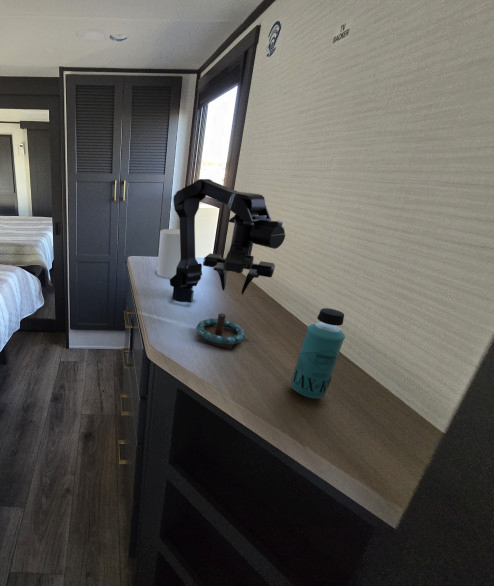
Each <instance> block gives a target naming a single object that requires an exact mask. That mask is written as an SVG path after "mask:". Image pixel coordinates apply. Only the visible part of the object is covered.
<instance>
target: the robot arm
mask: <svg viewBox="0 0 494 586" xmlns="http://www.w3.org/2000/svg"><path fill="white" fill-rule="evenodd" d="M206 197H209V198H211V199H213V200H215V201H216V202H217V201H218V202H220V203H222V204H224V205H226V206H227V207H228V209H229V211H231V212H232V213H233V214H234V215H233V216H232V217H230V218H229V219H228V222H229V223H232V224H233V230H232V236H231V242H230V247H229V250H228V252H227V253H226V256H225V258H222V254H217V253H211V252H210V253H208V254H207V255H205V257H204V258H203V260H202V261H203V262H202V263H199V262H198V260H197V259H196V224H195V223H196V221H195V219H196V215H197V212H198V211H199V209H200V202H201V201H203V200H204V199H206ZM172 199H173V207H174V211H175V213H176V215H177V216H178V218H179V229H180V252H181V260H180V262H179V264H178V266H177V268H176V275H175V276H173V277H172V278H169V286H171V287H173V289H172V296H171V297H172V300H174V301H176V302H180V303H192V302H193V300H194V293H195V290H194V287H197V286H198V283H199V282H200V280H201V279H202V276H203V271H202V269H203V266H204V267H208V268H212V269H213V271H215V272H217V274H218V276H219V280H220V285H221V290H222V291H225V289H226V285H227V277H228V276H227V275H228V272H234V273H237V274H241V273H243V272H244V270H248V272H247V274H246V277H245V281H244V283H243V286H242V288H241V295H244V293H245V291H246V290H247V288H248V287H249V285H250V284H251V282H252V281H253V279H258V278H259V277H266V278H272V277H273V275H274V272H275V270H276V268H275V267H276V265H275V263H274V262H268V261H262V260H260V261H259V263H254V255H252V252H253V246H254V245H258V246H261V247H265V248H269V249H273V250H276V249H278V248H279V247H281V245H283V243H284V241H285V239H286V231H285V227H284V226H283V224H284V223H283V222H284V221H281V220H272V218H271V215H270V213H269V210H268V208H267V205H266V200H265V196H264V195H262V194H260V193H253V192H246V191H237V190H236V189H233V188H231V187H228V186H225V185H223V184H220V183H218V182H215V181H214V180H212V179H210V178H199V179H196V180H195V181H194V182H192V183H190V184H189V185H186V186H184V187H183V188H181V189H179V190H177V191H176V192H175V194H174V195H173V198H172Z"/></svg>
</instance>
